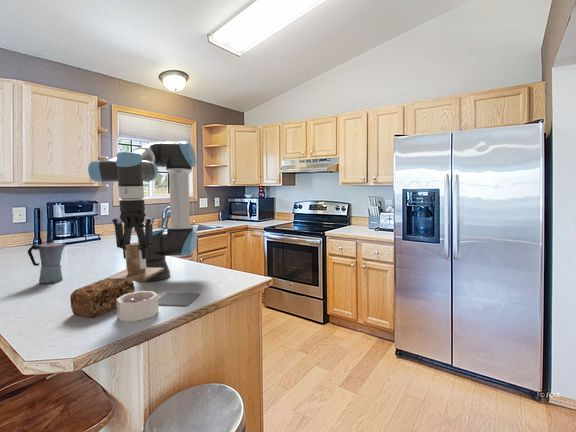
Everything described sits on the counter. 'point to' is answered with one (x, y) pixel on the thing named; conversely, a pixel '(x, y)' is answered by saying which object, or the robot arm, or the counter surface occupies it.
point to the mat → (177, 299)
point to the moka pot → (49, 261)
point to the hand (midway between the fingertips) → (136, 267)
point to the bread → (99, 297)
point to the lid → (134, 267)
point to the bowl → (137, 305)
